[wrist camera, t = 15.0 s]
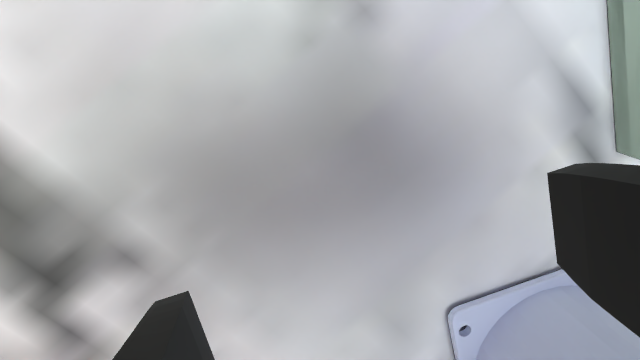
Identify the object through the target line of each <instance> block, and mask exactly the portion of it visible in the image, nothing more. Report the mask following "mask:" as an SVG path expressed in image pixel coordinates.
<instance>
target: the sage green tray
mask: <svg viewBox="0 0 640 360" xmlns="http://www.w3.org/2000/svg"><path fill="white" fill-rule="evenodd" d="M607 7H608V23H609V39H610V55H611V70H612V86H613V102H614V118H615V133H616V149H617V152H619V153H622V154H625V155H628V156H631V157H633V158H636V159H639V160H640V0H607Z"/></svg>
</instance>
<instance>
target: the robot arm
mask: <svg viewBox="0 0 640 360" xmlns="http://www.w3.org/2000/svg"><path fill="white" fill-rule="evenodd" d="M547 175H548V184H549V193H550V202H551V211H552V220H553V229H554V238H555V247H556V256H557V264H558V265H559V266H560V267H561V268H562V269H561V270H558V271H555V272H553V273H550V274H547V275H544V276H541V277H538V278H535V279H533V280H530V281H527V282H524V283H521V284H518V285H516V286H513V287H510V288H507V289H504V290H501V291H499V292H496V293H493V294H490V295H487V296H484V297H482V298H479V299H476V300H473V301H470V302H467V303H464V304H462V305H459V306H456V307H455V308H453V309H452V310H451V311H450V313H449V315H448V323H449V328H450V334H451V339H452V344H453V349H454V354H455V359H456V360H640V166H638V165H624V164H605V163H583V164H574V165H571V166H568V167H565V168H562V169H558V170H555V171H552V172H549V173H547ZM465 325H467V326H466V328H465V329H464V330H463V331H459V330H460V328H461V327H463V326H465ZM113 360H215V359H214V357H213V354H212V351H211V349H210V346H209V344H208V341H207V338H206V336H205V333H204V330H203V328H202V325H201V323H200V320H199V317H198V315H197V312H196V310H195V307H194V304H193V302H192V299H191V296H190V294H189V291H186V292H183V293H180V294H177V295H174V296H171V297H168V298H165V299H162V300H159V301H156V302H155V303H154V304H153V305H152V306H151V307H150V309H149V310H148V311H147V313H146V314H145V315H144V317H143V318H142V319H141V321H140V322H139V324H138V325H137V326H136V328H135V329H134V331H133V332H132V333H131V335H130V336H129V338H128V339H127V340H126V342H125V343H124V345H123V346H122V347H121V349H120V350H119V351H118V353H117V354H116V355H115V357H114V358H113Z"/></svg>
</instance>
